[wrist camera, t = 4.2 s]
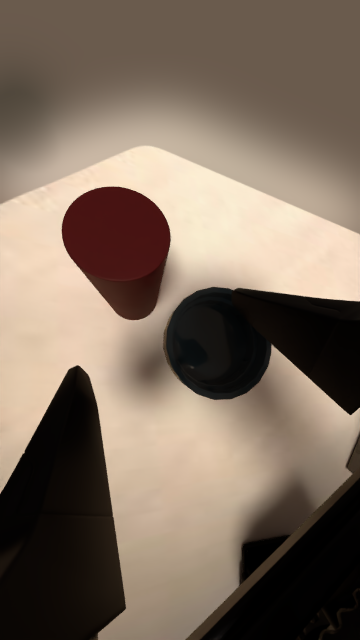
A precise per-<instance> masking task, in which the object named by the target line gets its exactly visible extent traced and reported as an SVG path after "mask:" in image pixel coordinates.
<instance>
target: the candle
mask: <svg viewBox="0 0 360 640" xmlns="http://www.w3.org/2000/svg"><path fill="white" fill-rule="evenodd" d="M62 238H63V243H64V246H65V248H66V251H67V252H68V254H69V256H70V257H71V259H72V260H73V261H74V262H75V264H76V265H77V266H78V267H79V268H80V270H81V271H82V272H83V273H84V274H85V276H86V277H87V278H88V279H89V280H90V282H91V283H92V284H93V285H94V287H95V288H96V289H97V290H98V291H99V293H100V294H101V295H102V296H103V297H104V299H105V300H106V301H107V302H108V304H109V305H110V306H111V307H112V308H113V310H114V311H115V312H116V313H117V314H118V315H119V316H121V317H123V318H125V319H128V320H139V319H142V318H145V317H147V316H148V315H149V314H150V313H151V312H152V311H153V310H154V308H155V306H156V303H157V298H158V294H159V290H160V286H161V282H162V277H163V273H164V269H165V265H166V260H167V256H168V252H169V248H170V241H171V238H170V229H169V226H168V223H167V220H166V218H165V216H164V215H163V213H162V211H161V210H160V209H159V208H158V206H157V205H156V204H155V203H154V202H152V201H151V200H150V199H149V198H147V197H146V196H144V195H142V194H140V193H138V192H136V191H133V190H131V189H127V188H122V187H101V188H97V189H94V190H91V191H88V192H86V193H84V194H83V195H81V196H80V197H78V198H77V199H76V200H75V201H74V202H73V203H72V204H71V205H70V206H69V208H68V210H67V211H66V214H65V216H64V219H63V223H62Z"/></svg>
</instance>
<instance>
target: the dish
mask: <svg viewBox="0 0 360 640" xmlns="http://www.w3.org/2000/svg"><path fill="white" fill-rule="evenodd" d="M232 291H233V290H231V289H228V288H218V287H211V288H207V289H202V290H198V291H196V292H195V293H193V294H191V295H190V296H188V297H187V298H185V299H184V300H183V301H182V302H181V303H180V305H179V306H178V307H177V308H176V310H175V311H174V312H173V313H172V315H171V316H170V317H169V319H168V322H167V325H166V327H165V330H164V337H163V350H164V353H165V357H166V361H167V363H168V365H169V367H170V368H171V370H172V371H173V373H174V375H175V376H176V377H177V378H178V379H179V380H180V381H181V382H182V383H183V384H185V385H186V386H187V387H188V388H190V389H191V390H192V391H194V392H195V393H196V394H198V395H201V396H204V397H207V398H210V399H214V400H220V399H233V398H235V397H238V396H240V395H243V394H245V393H247V392H248V391H249V390H251V389H252V388H253V387H254V386H255V385H256V384H257V383H259V381H260V380H261V378H262V376H263V375H264V373H265V371H266V369H267V367H268V364H269V360H270V356H271V343H270V342H269V341H268V340H267V339H266V338H264V337H263V336H262V335H261V334H260V333H259V332H258V331H257V330H256V329H255V328H253V327H252V326H251V325H250V324H249V323H248V322H247V321H246V320H245V319H244V317H243V316H242V315H241V314H240V313H239V312H238V311H237V310H236V308H235V307H234V306H233V305H232Z"/></svg>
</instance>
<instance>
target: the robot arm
mask: <svg viewBox="0 0 360 640" xmlns="http://www.w3.org/2000/svg"><path fill="white" fill-rule="evenodd" d="M232 305H233V306H234V307H235V308H236V310H237V311H238V312H239V313H240V314H241V315H242V316H243V317H244V319H245V320H246V321H247V322H248V323H249V324H250V325H251V326H252V327H253V328H255V329H256V330H257V331H258V332H259V333H260V334H261V335H262V336H263V337H264V338H266V339H267V340H268V341H269V342H270V343H271V344H272V345H273V346H274V347H275V348H277V349H278V350H279V351H280V352H281V353H282V354H283V355H284V356H285V357H286V358H288V359H289V360H290V361H291V362H292V363H293V364H294V365H295V366H296V367H297V368H299V369H300V370H301V371H302V372H303V373H304V374H305V375H306V376H308V378H309V379H310V380H312V381H313V382H314V383H315V384H316V385H317V386H318V387H319V388H320V389H321V390H323V391H324V392H325V393H326V394H327V395H328V396H329V397H330V398H331V399H332V400H334V401H335V402H336V403H337V404H338V405H339V406H340V407H341V408H342V409H343V410H345V411H346V412H347V413H348V414H349V415H352V414H353V413H354V412H355V411H356V410H357V409H359V408H360V302H358V301H345V300H333V299H322V298H313V297H303V296H297V295H290V294H282V293H274V292H266V291H258V290H251V289H243V288H237V289H235V290H233V291H232ZM112 516H113V512H112V505H111V498H110V491H109V484H108V477H107V470H106V462H105V455H104V448H103V441H102V434H101V427H100V420H99V413H98V407H97V402H96V399H95V395H94V392H93V388H92V384H91V381H90V378H89V376H88V374H87V373H86V372H85V371H84V370H83V369H82V368H81V367H80V366H78V365H77V366H75V367H73V368H70V369H69V370H68V372H67V374H66V375H65V377H64V379H63V381H62V383H61V385H60V387H59V388H58V390H57V392H56V394H55V396H54V398H53V399H52V401H51V403H50V405H49V407H48V409H47V411H46V412H45V414H44V416H43V418H42V420H41V422H40V424H39V425H38V427H37V429H36V431H35V433H34V435H33V436H32V438H31V440H30V442H29V444H28V446H27V448H26V449H25V453H24V454H23V455H22V457H21V458H20V460H19V462H18V464H17V466H16V468H15V469H14V471H13V473H12V475H11V476H10V478H9V480H8V482H7V484H6V485H5V487H4V489H3V490H2V492H1V494H0V640H98V633H99V632H100V631H101V630H102V629H103V628H104V627H106V626H107V625H108V624H109V623H110V622H111V621H112V620H114V619H115V618H116V617H117V616H118V615H119V614H121V613H122V612H123V611H124V610H125V609H126V604H125V596H124V589H123V582H122V575H121V568H120V560H119V553H118V546H117V539H116V532H115V525H114V518H113V517H112ZM242 562H243V572H242V584H241V585H240V586H239V587H238V588H237V589H236V590H235V591H234V592H233V593H232V594H231V595H230V596H229V597H228V598H227V599H226V600H225V601H224V602H223V603H222V604H221V605H220V606H219V607H218V608H217V609H216V610H215V611H214V612H213V613H212V614H211V615H210V616H209V617H208V618H207V619H206V620H205V621H204V622H203V623H202V624H201V625H200V626H199V627H198V628H197V629H196V630H195V631H194V632H193V633H192V634H191V635H190V636H189V637H188V638H187V639H186V640H360V467H359V468H358V469H357V470H356V471H355V472H354V473H353V474H352V475H351V476H350V477H349V478H348V479H347V480H346V481H345V482H344V483H343V484H342V485H341V486H340V487H339V488H338V489H337V490H336V491H335V492H334V493H333V494H332V495H331V496H330V497H329V498H328V499H327V500H326V501H325V502H324V503H323V504H322V505H321V506H320V507H319V508H318V509H317V510H316V511H315V512H314V513H313V514H312V515H311V516H310V517H309V518H308V519H307V520H306V521H305V522H304V523H303V524H302V525H301V526H300V527H299V528H298V529H297V530H296V531H295V532H294V533H293V534H292V535H289V536H284V537H278V538H273V539H268V540H262V541H257V542H252V543H246V544H244V546H243V548H242Z"/></svg>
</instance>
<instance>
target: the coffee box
mask: <svg viewBox="0 0 360 640" xmlns="http://www.w3.org/2000/svg"><path fill="white" fill-rule="evenodd" d="M359 467H360V437H359V440H358V442H357V445H356V447H355V450H354V452H353V455H352V458H351V460H350V463H349V465H348V470H349V471H350V472H351V473H354V472H355V471H356V470H357V469H358V468H359Z"/></svg>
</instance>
